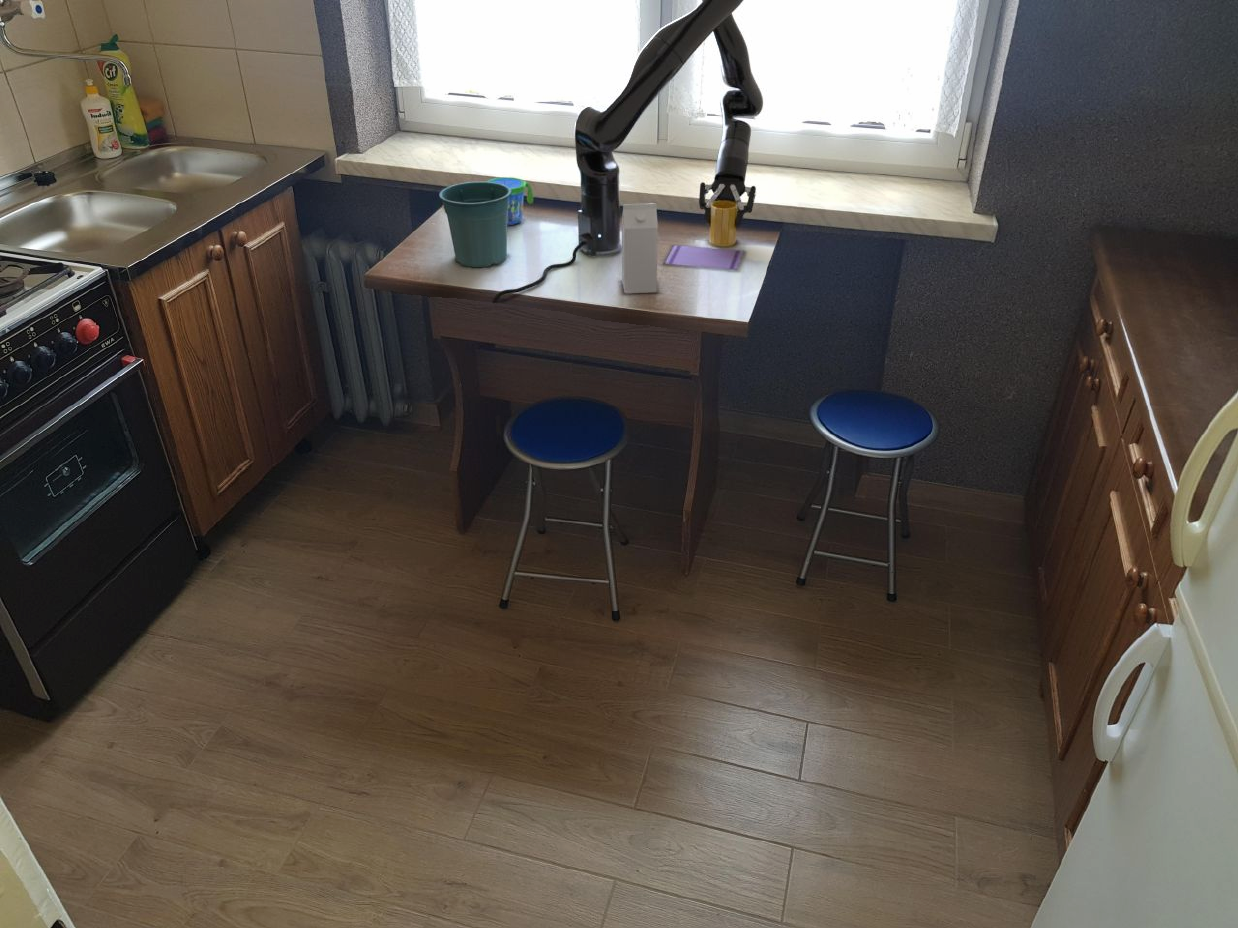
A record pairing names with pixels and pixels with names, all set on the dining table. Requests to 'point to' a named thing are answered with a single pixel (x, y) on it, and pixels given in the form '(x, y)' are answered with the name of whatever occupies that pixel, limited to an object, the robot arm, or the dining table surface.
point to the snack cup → (515, 197)
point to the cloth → (704, 257)
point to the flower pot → (477, 221)
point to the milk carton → (639, 248)
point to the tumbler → (723, 223)
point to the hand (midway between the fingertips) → (722, 225)
